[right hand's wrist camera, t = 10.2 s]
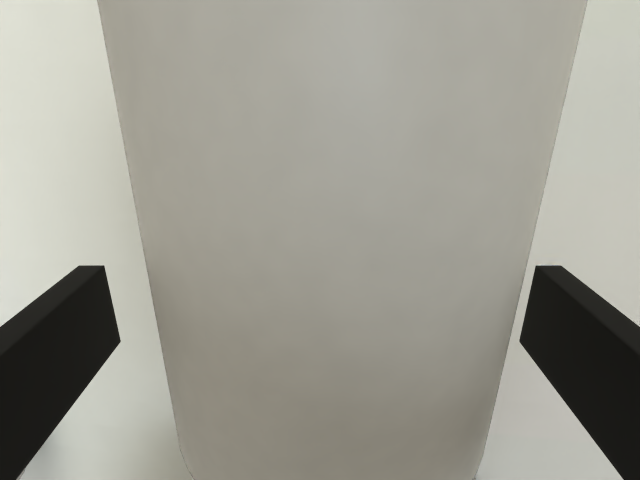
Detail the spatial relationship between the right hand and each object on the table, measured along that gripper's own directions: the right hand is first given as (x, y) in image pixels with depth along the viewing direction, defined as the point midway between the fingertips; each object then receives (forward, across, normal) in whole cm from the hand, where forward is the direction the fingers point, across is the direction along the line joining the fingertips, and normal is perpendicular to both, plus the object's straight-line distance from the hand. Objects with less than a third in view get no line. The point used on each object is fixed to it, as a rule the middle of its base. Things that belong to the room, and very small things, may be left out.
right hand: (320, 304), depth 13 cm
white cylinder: (+2, 0, -11) cm, 12 cm away
